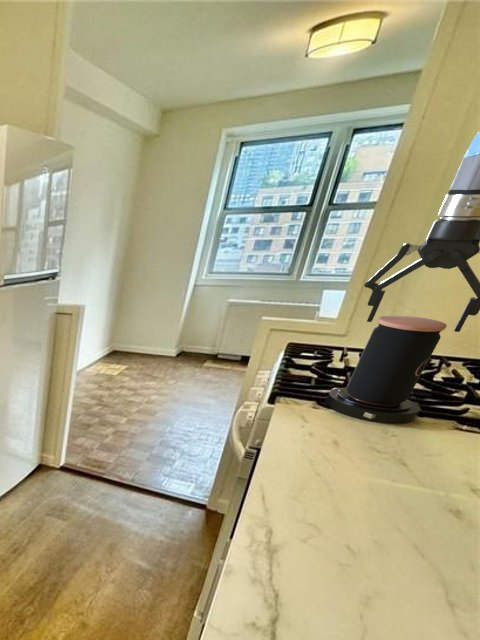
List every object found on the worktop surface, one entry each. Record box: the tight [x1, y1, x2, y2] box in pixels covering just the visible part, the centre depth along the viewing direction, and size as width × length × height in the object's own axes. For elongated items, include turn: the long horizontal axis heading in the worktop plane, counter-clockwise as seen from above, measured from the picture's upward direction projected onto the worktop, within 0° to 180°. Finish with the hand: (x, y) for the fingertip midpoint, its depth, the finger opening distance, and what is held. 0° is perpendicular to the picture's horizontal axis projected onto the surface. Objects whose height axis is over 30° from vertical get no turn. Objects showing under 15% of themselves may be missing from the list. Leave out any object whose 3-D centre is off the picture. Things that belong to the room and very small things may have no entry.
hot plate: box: [324, 387, 421, 425], centre depth 115 cm, size 16×16×3 cm
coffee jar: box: [346, 315, 448, 405], centre depth 110 cm, size 11×11×18 cm
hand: (411, 325), depth 106 cm, fingers open, 13 cm apart
